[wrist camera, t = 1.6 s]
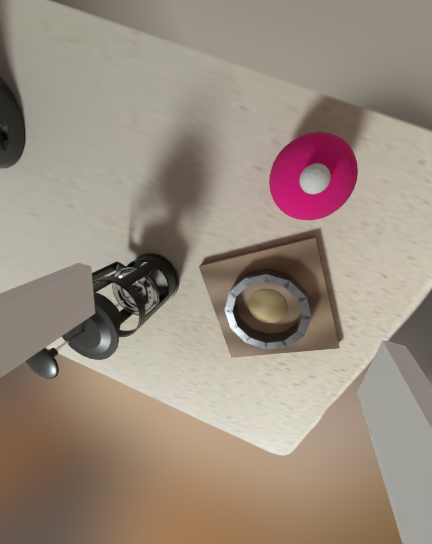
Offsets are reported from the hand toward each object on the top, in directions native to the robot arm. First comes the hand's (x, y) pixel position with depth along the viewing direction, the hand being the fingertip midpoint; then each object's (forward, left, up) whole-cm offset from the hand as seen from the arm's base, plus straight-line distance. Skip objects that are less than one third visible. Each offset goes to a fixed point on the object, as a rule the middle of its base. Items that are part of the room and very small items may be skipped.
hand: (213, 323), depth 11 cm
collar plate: (+13, -3, -27) cm, 30 cm away
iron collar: (+13, -3, -26) cm, 29 cm away
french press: (+4, -22, -28) cm, 35 cm away
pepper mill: (-4, +6, -28) cm, 28 cm away
